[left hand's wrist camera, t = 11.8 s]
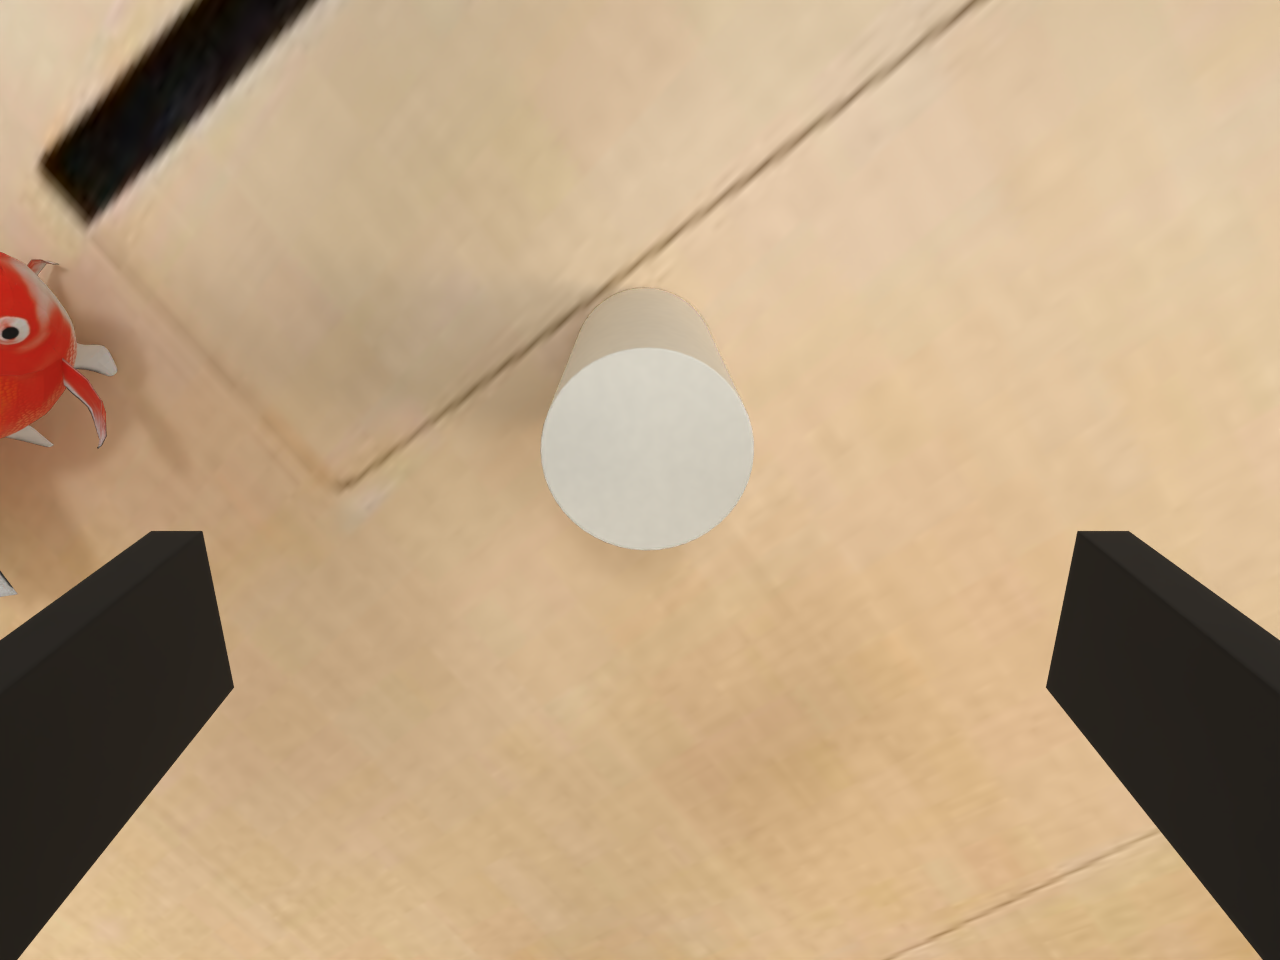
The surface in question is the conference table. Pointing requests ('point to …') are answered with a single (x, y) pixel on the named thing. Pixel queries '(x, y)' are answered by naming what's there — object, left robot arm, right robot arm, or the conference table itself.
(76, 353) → the fish
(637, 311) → the cylinder
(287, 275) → the conference table surface
